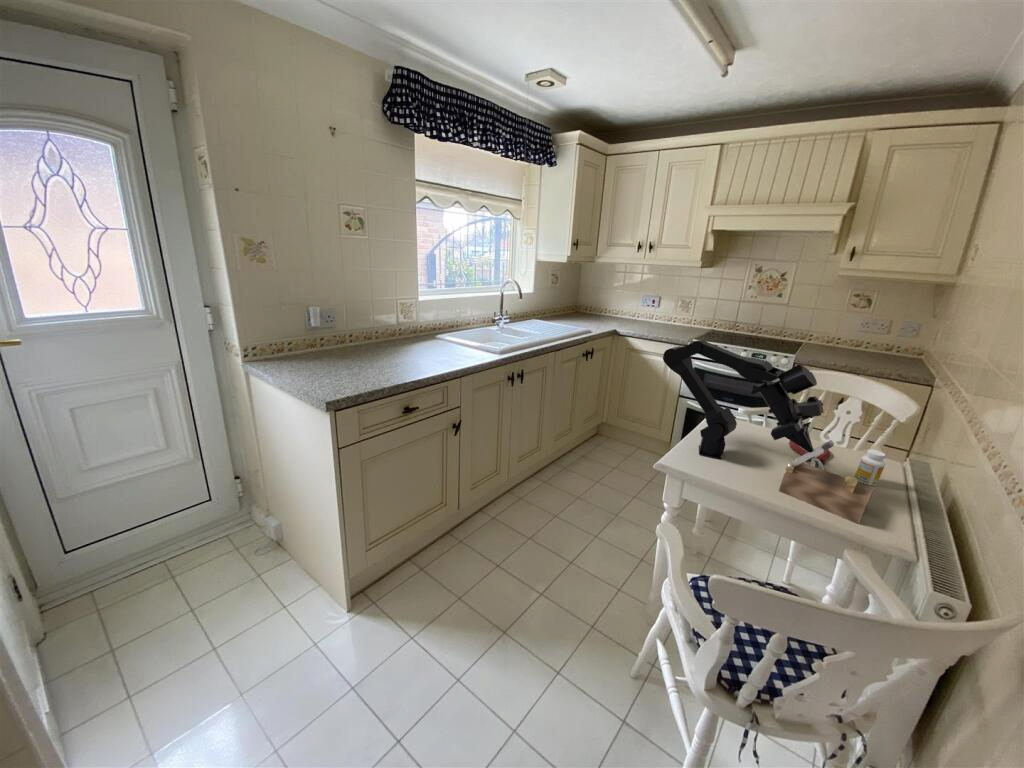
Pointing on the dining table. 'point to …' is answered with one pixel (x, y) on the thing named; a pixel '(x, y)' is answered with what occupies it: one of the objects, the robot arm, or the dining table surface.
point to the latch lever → (811, 454)
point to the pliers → (817, 461)
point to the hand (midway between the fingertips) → (811, 451)
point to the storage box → (827, 491)
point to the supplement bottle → (870, 467)
